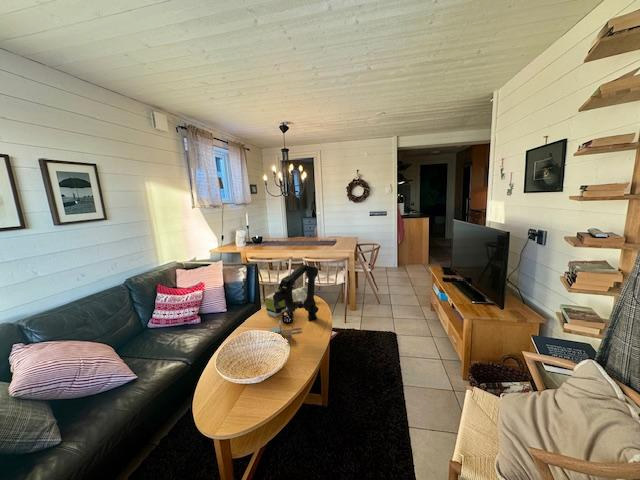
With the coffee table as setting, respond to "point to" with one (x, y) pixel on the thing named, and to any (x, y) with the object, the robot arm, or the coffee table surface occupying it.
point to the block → (288, 335)
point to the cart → (276, 329)
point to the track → (291, 331)
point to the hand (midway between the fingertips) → (290, 318)
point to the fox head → (300, 294)
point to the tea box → (272, 305)
